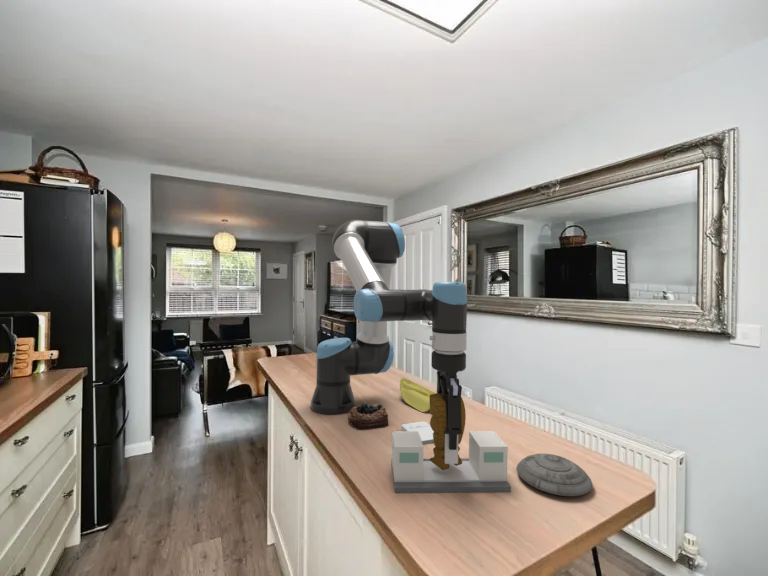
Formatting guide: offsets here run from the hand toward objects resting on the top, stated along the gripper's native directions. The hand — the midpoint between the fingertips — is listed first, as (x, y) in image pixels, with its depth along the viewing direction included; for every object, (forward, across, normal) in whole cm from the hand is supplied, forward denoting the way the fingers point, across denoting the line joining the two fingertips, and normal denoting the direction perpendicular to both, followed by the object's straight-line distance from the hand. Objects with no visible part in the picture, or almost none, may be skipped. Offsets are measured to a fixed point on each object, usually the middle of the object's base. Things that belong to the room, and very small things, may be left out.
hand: (447, 453), depth 78 cm
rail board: (+5, 0, 0) cm, 5 cm away
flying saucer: (+6, +2, +23) cm, 24 cm away
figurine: (+2, 0, 0) cm, 2 cm away
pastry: (+6, -31, -18) cm, 36 cm away
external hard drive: (+6, -22, -2) cm, 23 cm away
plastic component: (+6, -49, +2) cm, 50 cm away
